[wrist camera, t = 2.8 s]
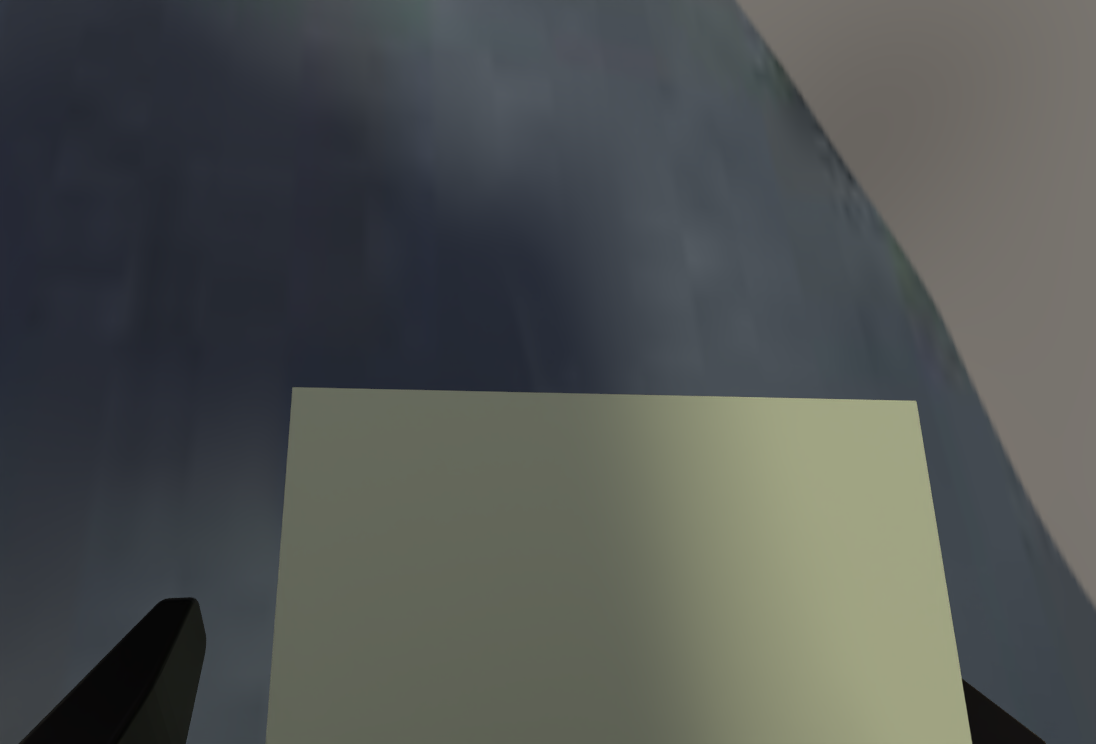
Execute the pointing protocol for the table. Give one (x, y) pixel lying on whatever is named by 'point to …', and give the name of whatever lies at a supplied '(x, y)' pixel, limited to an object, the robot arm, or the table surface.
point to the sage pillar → (609, 572)
